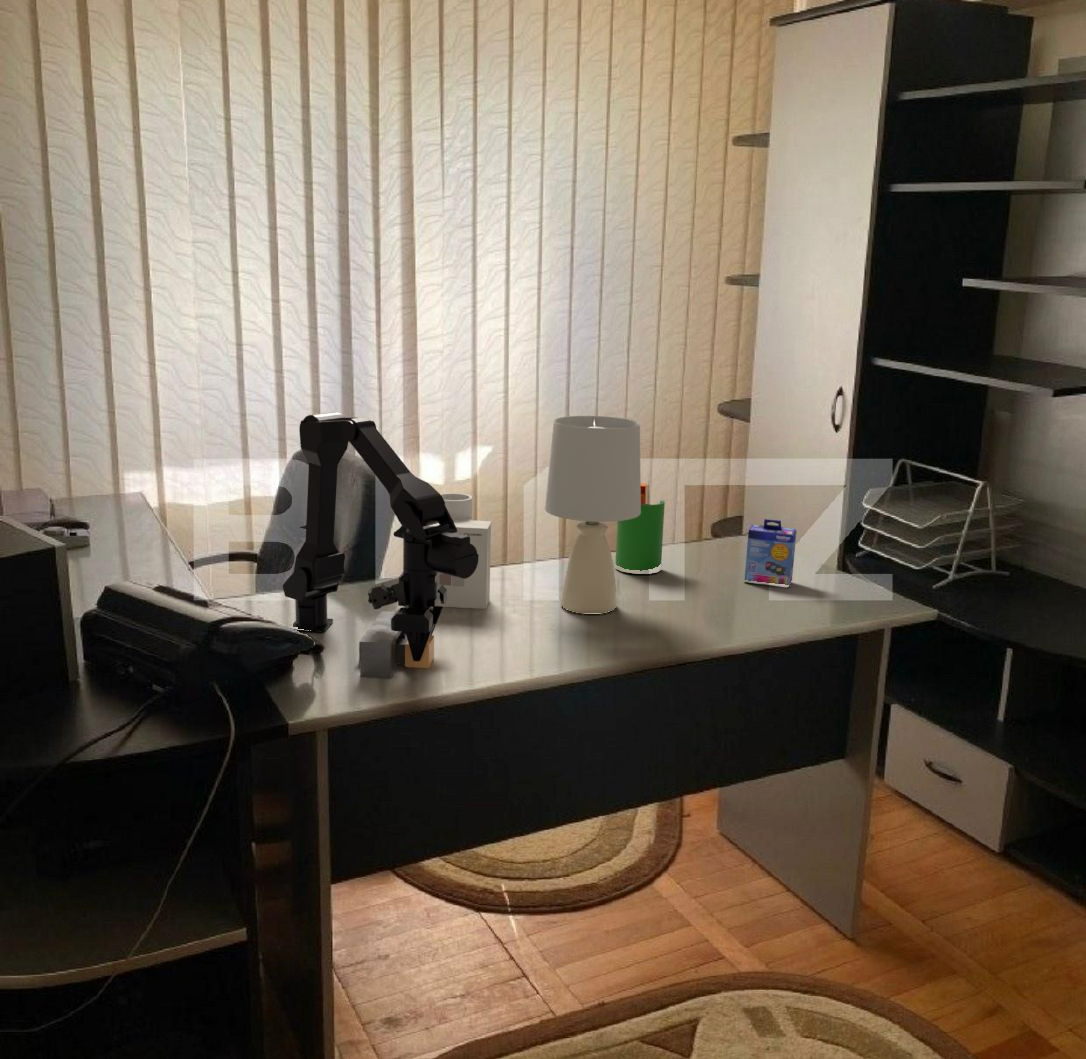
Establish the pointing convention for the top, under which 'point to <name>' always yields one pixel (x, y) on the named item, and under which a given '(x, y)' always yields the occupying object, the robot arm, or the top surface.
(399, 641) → the plug
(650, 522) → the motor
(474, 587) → the white square bottle
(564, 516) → the lamp
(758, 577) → the ink cartridge box
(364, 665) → the housing
